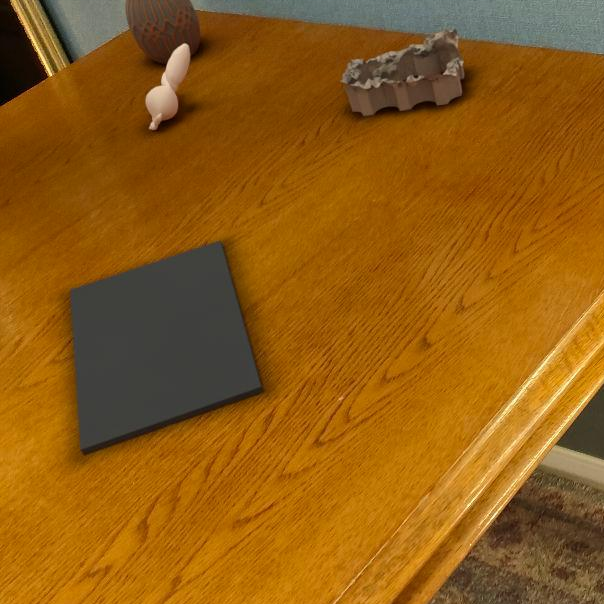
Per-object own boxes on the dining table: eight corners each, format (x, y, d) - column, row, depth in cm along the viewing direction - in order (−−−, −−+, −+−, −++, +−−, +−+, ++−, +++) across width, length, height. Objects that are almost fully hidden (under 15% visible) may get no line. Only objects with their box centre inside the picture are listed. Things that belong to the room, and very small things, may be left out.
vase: (154, 78, 103) (114, -12, 97) (139, 57, 108) (100, -30, 101) (217, 55, 105) (182, -35, 98) (199, 36, 109) (165, -52, 103)
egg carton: (471, 71, 93) (462, 25, 90) (461, 110, 88) (451, 63, 85) (361, 84, 95) (349, 39, 92) (345, 122, 90) (331, 77, 87)
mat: (74, 298, 77) (69, 289, 77) (224, 248, 79) (220, 239, 78) (86, 458, 64) (80, 449, 64) (265, 395, 66) (261, 386, 65)
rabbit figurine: (129, 132, 96) (155, 60, 97) (170, 153, 98) (194, 82, 99) (145, 110, 91) (172, 34, 92) (187, 132, 93) (213, 58, 94)
